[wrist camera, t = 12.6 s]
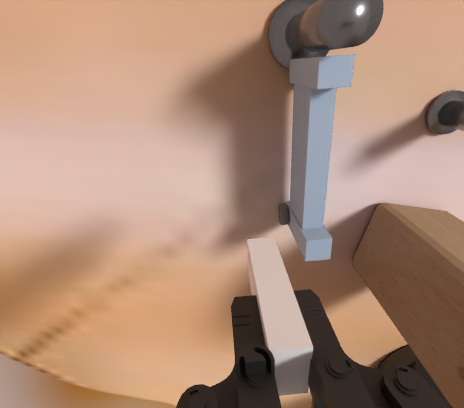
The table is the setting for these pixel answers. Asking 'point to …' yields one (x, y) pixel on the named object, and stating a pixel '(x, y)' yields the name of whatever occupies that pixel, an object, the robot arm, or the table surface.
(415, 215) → the wooden block
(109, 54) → the table surface
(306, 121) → the grey i-beam block
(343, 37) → the gate posts
